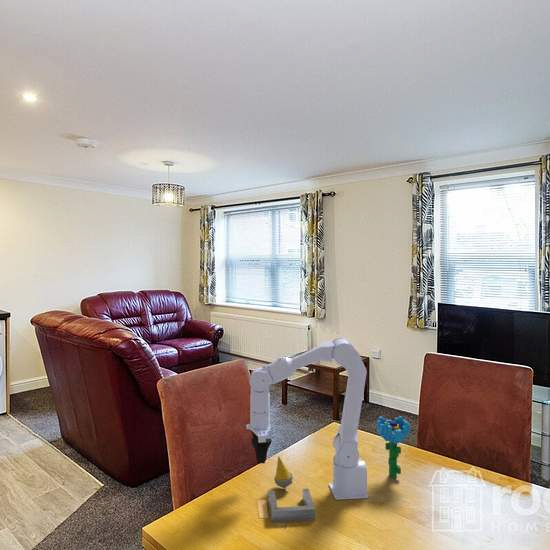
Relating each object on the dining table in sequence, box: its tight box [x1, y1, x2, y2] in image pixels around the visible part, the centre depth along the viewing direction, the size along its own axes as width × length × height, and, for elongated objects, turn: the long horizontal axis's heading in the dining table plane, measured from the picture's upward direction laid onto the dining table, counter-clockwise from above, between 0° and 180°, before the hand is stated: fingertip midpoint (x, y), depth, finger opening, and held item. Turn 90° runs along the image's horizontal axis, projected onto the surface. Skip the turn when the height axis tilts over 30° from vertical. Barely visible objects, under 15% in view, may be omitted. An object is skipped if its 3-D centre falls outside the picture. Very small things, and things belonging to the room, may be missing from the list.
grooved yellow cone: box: [274, 455, 294, 490], centre depth 117 cm, size 5×5×10 cm
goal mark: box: [257, 499, 269, 519], centre depth 108 cm, size 2×8×1 cm, turn 6°
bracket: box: [268, 488, 316, 524], centre depth 107 cm, size 11×10×3 cm
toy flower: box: [376, 415, 411, 479], centre depth 124 cm, size 9×9×18 cm
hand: (260, 456), depth 116 cm, fingers open, 7 cm apart
